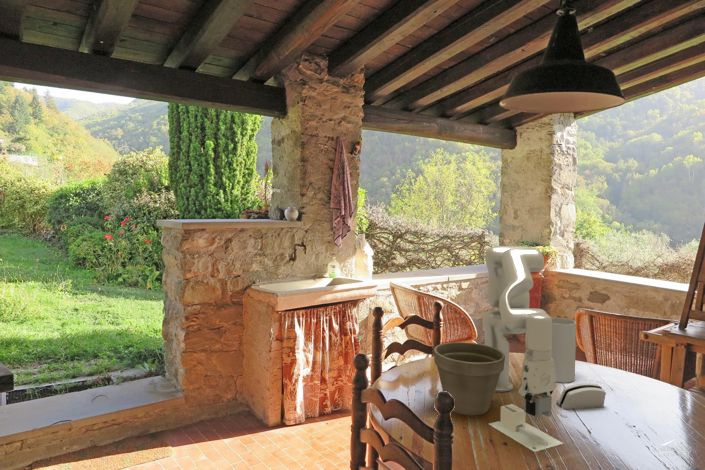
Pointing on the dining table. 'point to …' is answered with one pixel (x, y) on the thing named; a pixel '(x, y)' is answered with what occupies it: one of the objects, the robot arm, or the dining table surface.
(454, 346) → the plant pot
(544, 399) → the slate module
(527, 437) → the panel
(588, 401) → the off-white grooved curved block
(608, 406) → the dining table surface
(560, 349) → the cylinder vase
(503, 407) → the cream module
